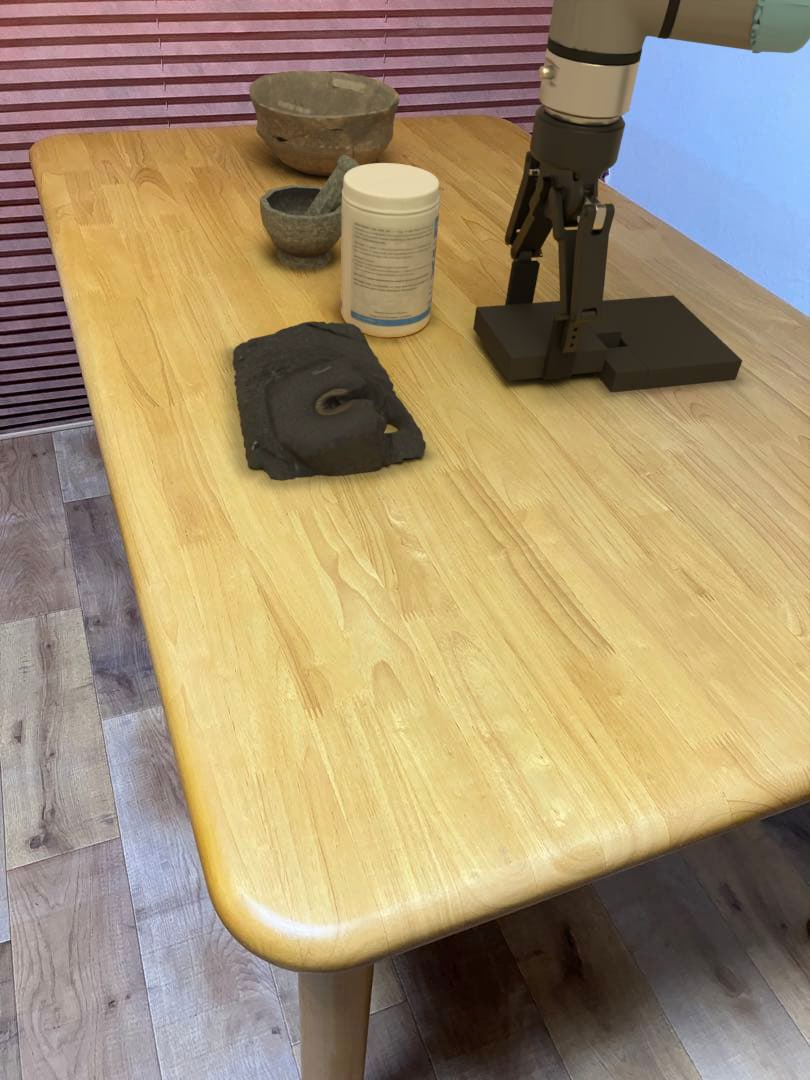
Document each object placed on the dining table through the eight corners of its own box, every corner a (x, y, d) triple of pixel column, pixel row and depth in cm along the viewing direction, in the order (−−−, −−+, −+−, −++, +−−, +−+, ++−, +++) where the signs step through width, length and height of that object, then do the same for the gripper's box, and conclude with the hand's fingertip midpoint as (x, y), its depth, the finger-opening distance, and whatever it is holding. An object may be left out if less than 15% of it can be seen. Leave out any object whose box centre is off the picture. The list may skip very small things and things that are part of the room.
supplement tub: (447, 328, 92) (462, 188, 82) (372, 350, 88) (379, 205, 78) (395, 290, 98) (404, 155, 88) (322, 309, 93) (323, 168, 84)
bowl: (222, 157, 125) (217, 80, 118) (333, 133, 136) (334, 62, 129) (312, 204, 114) (312, 124, 107) (425, 174, 125) (431, 100, 119)
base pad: (667, 315, 98) (674, 295, 96) (734, 381, 88) (743, 360, 87) (553, 324, 95) (558, 303, 93) (610, 395, 85) (616, 372, 83)
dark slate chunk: (377, 340, 89) (379, 297, 86) (432, 471, 74) (437, 424, 71) (226, 349, 86) (222, 305, 83) (249, 488, 70) (246, 440, 67)
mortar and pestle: (258, 275, 98) (253, 166, 90) (265, 240, 105) (261, 136, 97) (358, 280, 99) (362, 172, 91) (358, 245, 106) (361, 142, 98)
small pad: (587, 319, 93) (592, 298, 91) (630, 368, 86) (636, 346, 84) (473, 329, 90) (476, 306, 88) (507, 380, 83) (511, 357, 81)
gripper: (492, 71, 79) (463, 297, 94) (599, 160, 63) (544, 414, 78) (567, 71, 81) (527, 293, 96) (689, 157, 65) (618, 406, 80)
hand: (535, 347), depth 87 cm, fingers closed on small pad, 10 cm apart
